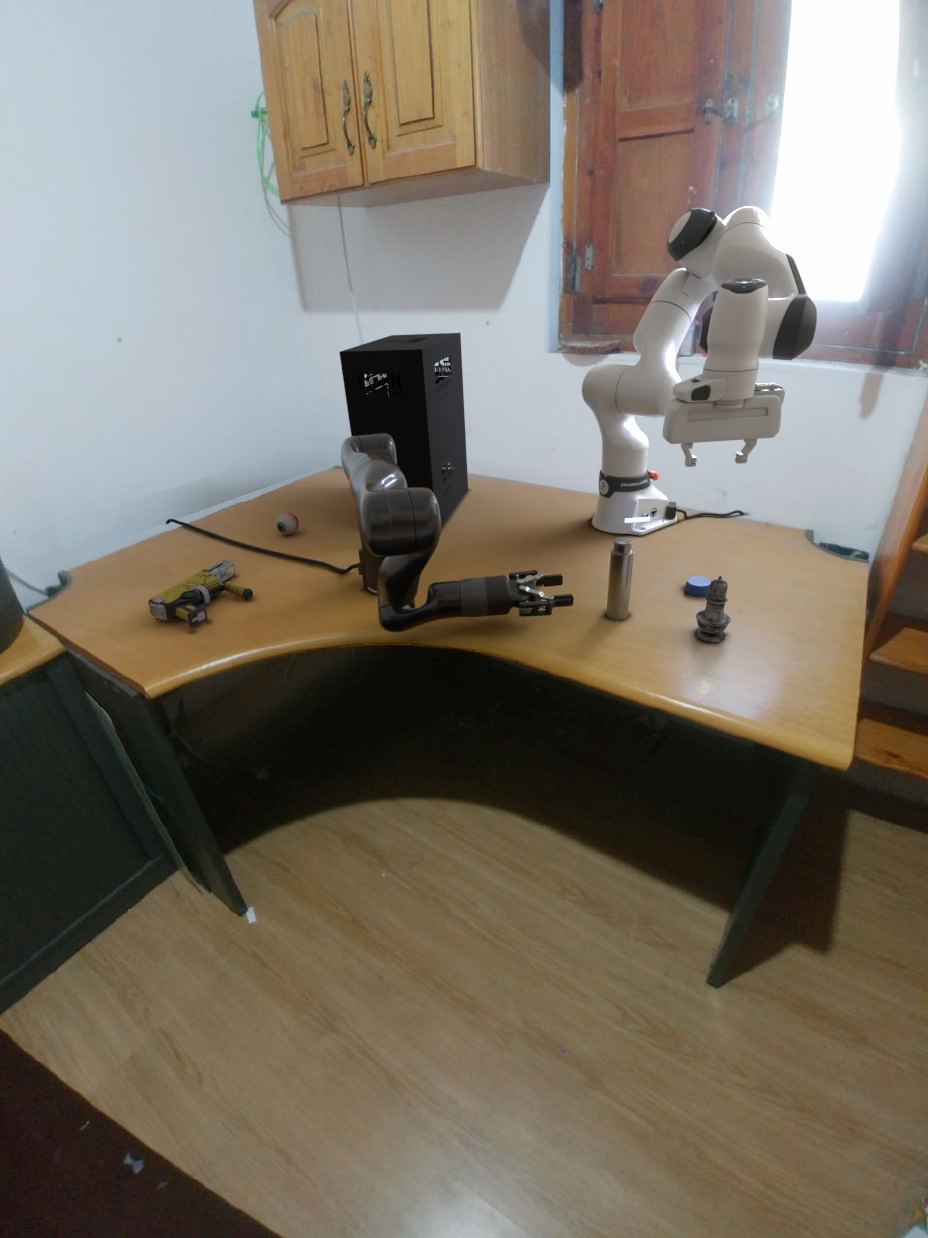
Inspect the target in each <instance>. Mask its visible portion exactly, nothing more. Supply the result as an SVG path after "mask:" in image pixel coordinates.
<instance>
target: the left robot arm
mask: <svg viewBox="0 0 928 1238" xmlns="http://www.w3.org/2000/svg"><path fill="white" fill-rule="evenodd" d="M340 461H341V465H342V469H343V473H344V474H345V477H346V479H347V480H348V482H349V488H350V491H351V494H352V497H353V500H354V502H355V511H356V517H357V518H356V519H357V524H358V530H359V539H360V545H361V546H360V548H358V558H359V562H358V563H354V564H351V565H349V566H347V568H340V567H337V566H335V565H333V564H330V563H328V562H325V561H321V560H316V559H313V558H307V557H303V556H298V555H293V554H288V553H284V552H280V551H275V550H271V549H268V548H267V549H266V548H263V547H260V546H256V545H255V546H254V545H251V544H247V543H244V542H241V541H238V540H235V539H231V538H229V537H226V536H222V535H220V534H216V533H214V532H211V531H209V530H205V529H203V528H200V527H198V526H196V525H192V524H190V523H187V522H184V521H180V520H178V519H175V518H168V519H167V520H166V521H165V525H169V524H170V523H174V524H176V525H179V526H183V527H186V528H189V529H192V530H194V531H198V532H199V533H202V534H205V535H207V536H210V537H213V538H215V539H218V540H220V541H221V540H222V541H223V542H227V543H229V544H233V545H236V546H239V547H243V548H246V549H249V550H253V551H257V552H260V553H264V554H268V555H272V556H275V557H281V558H286V559H289V560H295V561H299V562H303V563H308V564H313V565H318V566H323V567H326V568H328V569H330V570H332V571H334V572H336V573H339V574H347V573H350V572H351V571H352V570H354V569H357V570H358V575H359V576H361V577H362V585H363V589H364V590H367V591H369V592H370V593H372V594H374V595H376V596H377V597H376V598H377V599H376V600H377V616H378V624H379V626H380V627H381V628H382V629H383V631H386V632H388V633H394V634H395V633H397V634H398V633H403V632H406V631H409V630H413V629H415V628H417V627H420V626H422V625H426V624H428V623H432V622H435V621H440V620H447V619H456V618H484V617H496V616H505V615H509V614H510V613H511V610H512V608H516V609H518V616H519V617H521V618H526V617H527V618H528V617H542V616H543V617H544V616H545V617H546V616H552V614H553V610H554V609H556V608H564V607H572V606H573V605H574V600H575V599H574V598H575V597H574V595H573V594H572V593H564V594H553V595H550V594H545V593H544V592H543V591H541V590H538V589H541V588H543V587H544V588H547V587H548V588H549V587H559V586H563V584H564V576H563V575H562V574H561V573H556V574H546V575H545V574H543V573H539V570H537V569H531V570H523V571H522V570H521V571H514V572H509V573H508V577H507V575H505V574H500V575H487V576H477V577H468V578H464V579H459V580H446V581H435V582H432V583H430V584H429V585H428V588H427V592H426V600H425V603H423V604H422V605H421V606H419V607H416V597H417V594H418V591H419V588H420V587H419V586H420V580H421V575H422V574H423V571H424V570H425V568H426V567H427V565H428V564H429V562H430V560H431V559H432V556H433V555H434V553H435V551H436V549H437V548H438V546H439V542H440V538H441V533H442V527H441V517H440V510H439V505H438V502H437V499H436V497H435V495H434V493H433V492H432V491H431V490H430V489H428V488H425V487H407V482H406V479H405V477H404V475H403V473H402V471H401V470H400V468H399V467H398V465H397V456H396V448H395V443H394V440H393V438H392V436H391V435H390V434H388V433H375V434H366V435H359V436H358V435H356V436H351V435H350V436H349V437H346V438H345V439H344V440H343V441H342V444H341V447H340ZM540 609H541V610H540Z"/></svg>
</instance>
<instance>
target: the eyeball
mask: <svg viewBox="0 0 928 1238" xmlns="http://www.w3.org/2000/svg"><path fill="white" fill-rule="evenodd" d="M299 525H300V522H299V519H298V517H297V516H296V515H295V514H294V513H292V512H287V511H286V512H282V513H280V514H279V515H278V516H277V517H276V520H275V527H276V529H277V530H278V531H279V532H280V533H281V534H282V535H285V536H286V535H287V536H289V535H293V534H295V533H296V532H297V531H298V529H299Z"/></svg>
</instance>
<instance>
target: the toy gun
mask: <svg viewBox="0 0 928 1238" xmlns="http://www.w3.org/2000/svg"><path fill="white" fill-rule="evenodd" d="M235 566H236V565H235V562H234V561H233V560H227V559H225V558H224V559H222V560H221V561H219V562H216V563H215V564H213V565H211V566H209V567H208V568H206V569H205V568H203V569H202V570H201V571H199V572H197V573H195V574H193V575H191V576H189V577H187V578H186V579H184V580H182V581H180V582H178V583H176V584H174V585H173V586H171V587H169V588H167V589H166V590H164V591H162V592H160V593H157V594H156V595H154V596H152V597H151V598H149V599H148V606H149V611H150V614H151V616H152V618H155V621H159V622H164V621H168V622H169V621H176V620H179V619H182V620H185V621H187V622H188V625H189V628H191V629H193V628H195V627H197V626H199V625H201V624H203V623H205V622H207V621H208V620H209V619H208V612H207V608H206V606H207V605H209V603H210V602H211V598H213V597H215V596H218V595H220V594H222V593H223V592H224V591H225V592H227V593H229V594H232V595H234V596H237V597H239V598H242V599H244V600H246V601H248V600H250V599H252V598H254V591H253V589H251V588H250V587H245V586H243V585H240V584H237V583H235V582H232V581H227V580H229V579H230V578H232V577H234V576H236V567H235ZM231 568H233V571H229V570H230V569H231ZM225 581H226V582H225ZM223 582H225V583H224V584H223Z"/></svg>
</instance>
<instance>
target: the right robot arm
mask: <svg viewBox="0 0 928 1238" xmlns="http://www.w3.org/2000/svg"><path fill="white" fill-rule="evenodd" d="M773 240H774V239H773V230H772V226H771V224H770V221H769V218H768V216H767V214H766V213H765V212H764V211H763V210H762V209H760V208H759V207H756V206H753V205H752V206H751V205H750V206H747V205H746V206H743V207H740V208H737V209H736V210H734V211H733V212H731V213H730V214H729V215H728V216H727V217H726V218H725V219H722V218H721V217H719V216H718V215H717V211H716V210H709V209H706V208H702V207H695V208H690V209H689V210H688V211H686V212H685V213H684V214H682V216H681V217H680V218H678V220H677V221H676V222H675V223H674V225H673V227H672V229H671V231H670V234H669V236H668V239H667V241H666V251H667V253H668V254H669V255H670V257H671V258H672V260H674V262H678V263H679V264H680V265H681V266H682V267H679V268H676V269H674V270H673V271H671V272H669V274H668V275H667V277H665V279H664V280H663V281H662V283H661V284H660V285H659V287H658V289H657V290H656V291H655V293H654V295H653V296H652V298H651V300H650V301H649V304H648V305H647V307H646V309H645V311H644V313H643V315H642V316H641V318H640V320H639V322H638V324H637V327H636V329H635V330H634V332H633V336H632V342H633V347H634V349H635V351H636V353H637V354H638V355H639V356H640V358H639V360H638V361H637V363H636V364H634V365H628V364H618V363H607V364H602V365H597V366H593V367H591V368H590V369H589V370H588V371H587V373H586V374H585V376H584V378H583V381H582V384H581V396H582V399H583V401H584V403H585V404H586V405H587V407H588V408H589V409H590V410H591V412H592V413H593V415H594V417H595V420H596V422H597V424H598V428H599V432H600V436H601V468H600V470H599V474H598V492H599V493H598V498H597V502H596V507H595V511H594V514H593V517H592V520H591V525H592V526H593V527H594V528H595V529H597V530H599V531H601V532H605V533H611V534H623V535H625V534H626V535H632V536H633V535H634V536H645V535H646V534H650V533H652V532H654V531H657V530H660V529H662V528H665V527H668V526H670V525H672V524H675V523H677V522H678V516H677V512H678V513H682V514H683V518H684V519H686V520H690V519H694V518H697V517H700V516H701V517H702V516H709V517H729V516H732V515H734V514H739V515H741V516H745V514H746V513H744V512H743V511H742V510H740V509H736V510H732V511H730V512H726V513H718V512H717V513H716V512H697V513H695V514H692V515H687V514H688V513H687V511H686V510H684V509H681V508H678V507H677V503H676V501H669V498H668V497H667V496H666V495H665V494H664V493H663V492H661V491H660V490H659V489H658V488H656V487H655V486H654V485H652V483H651V480H653V481H658V479H659V478H660V473H659V472H657V471H654V470H651V471H649V470H648V469H647V466H648V458H649V457H648V456H649V447H650V443H649V439H648V437H647V435H646V433H644V432H643V431H642V430H641V429H640V427H639V426H638V424H637V423H636V420H635V419H636V418H635V417H637V418H644V419H659V418H664V419H663V426H662V437H663V439H664V440H665V441H666V442H667V443H669V444H670V445H680V448H681V450H682V452H683V454H684V457H685V458H684V466H685V467H686V468H692V467H696V466H697V459H698V457H697V456H695V455H694V454H692V452H691V450H692V449H693V447H694V444H695V443H696V444H698V443H708V442H709V443H711V442H728V441H742V440H743V443H745V444H744V446H743V447H742V449H741V450H740V451H737V452H735V458H734V462H735V463H736V464H737V465H738V464H739V465H742V464H747V463H748V457H749V454H751V452H752V451H753V450H754V448H755V447H756V446H757V442H758V440H759V439H772V438H775V437H776V436H777V435H778V434H779V432H780V429H781V422H782V406H783V404H784V399H785V395H786V391H785V388H784V387H783V386H782V385H779V383H778V382H770V383H757V380H758V379H757V378H758V374H759V373H758V372H759V366H760V362H759V359H761V360H763V359H771V360H779V361H792V360H794V359H795V358H797V357H799V356H800V355H802V354H803V353H804V352H806V350H808V349H809V348H810V347H811V345H812V343H813V341H814V338H815V336H816V333H817V327H818V311H817V306H816V305H815V302H814V301H813V300H812V299H811V297H809V295H808V293H807V290H806V287H805V284H804V282H803V279H802V276H801V273H800V270H799V268H798V266H797V263H796V261H795V259H794V257H793V256H792V255H790V254H788V253H787V252H785V251H783V250H782V249H780V248H779V247H778V246H777V245H775V243H774V242H773ZM710 295H711V301H712V302H713V305H711V307H710V308H709V309H707V310H706V311H705V313H704V314H702V317H701V322H702V324H701V333H700V340H699V344H698V348H700V350H702V352H703V353H704V354H706V358H705V360H704V362H703V367H702V373H699V374H698V375H695V376H693V377H690V378H687V379H685V380H683V381H682V379H681V377H680V375H679V373H678V371H677V369H676V360H677V356H678V352H679V350H680V348H681V346H682V344H683V341H684V339H685V337H686V336H687V333H688V331H689V329H690V328H691V325H692V323H693V321H694V319H695V317H696V315H697V313H698V310H699V309H700V306H701V305H702V303H703V301H705V299H706V298H707V297H709V296H710Z"/></svg>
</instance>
